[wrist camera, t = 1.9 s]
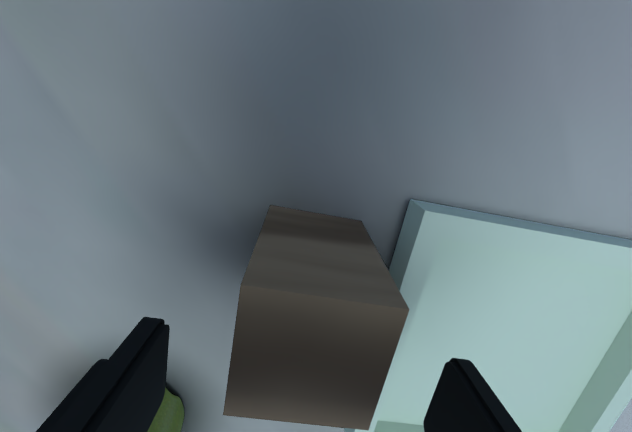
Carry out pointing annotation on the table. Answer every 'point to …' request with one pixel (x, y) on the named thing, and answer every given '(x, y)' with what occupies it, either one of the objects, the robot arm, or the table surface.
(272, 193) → the table surface
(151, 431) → the plant pot
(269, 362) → the walnut block
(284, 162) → the table surface
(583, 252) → the sage tray
